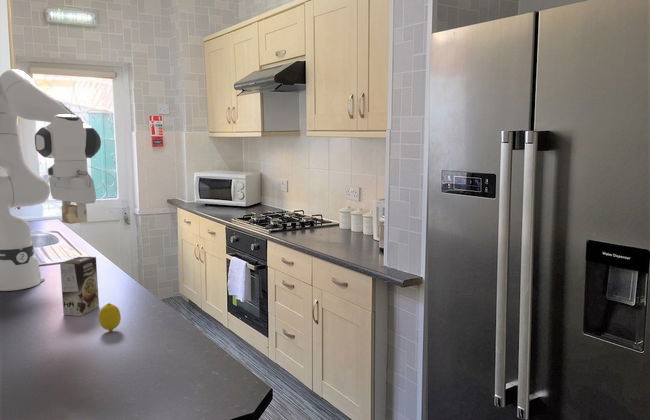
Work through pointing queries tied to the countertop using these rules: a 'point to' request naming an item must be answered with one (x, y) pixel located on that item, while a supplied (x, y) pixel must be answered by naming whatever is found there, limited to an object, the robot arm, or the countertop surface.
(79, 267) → the coffee box
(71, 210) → the beech cube
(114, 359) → the countertop surface
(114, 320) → the lemon
